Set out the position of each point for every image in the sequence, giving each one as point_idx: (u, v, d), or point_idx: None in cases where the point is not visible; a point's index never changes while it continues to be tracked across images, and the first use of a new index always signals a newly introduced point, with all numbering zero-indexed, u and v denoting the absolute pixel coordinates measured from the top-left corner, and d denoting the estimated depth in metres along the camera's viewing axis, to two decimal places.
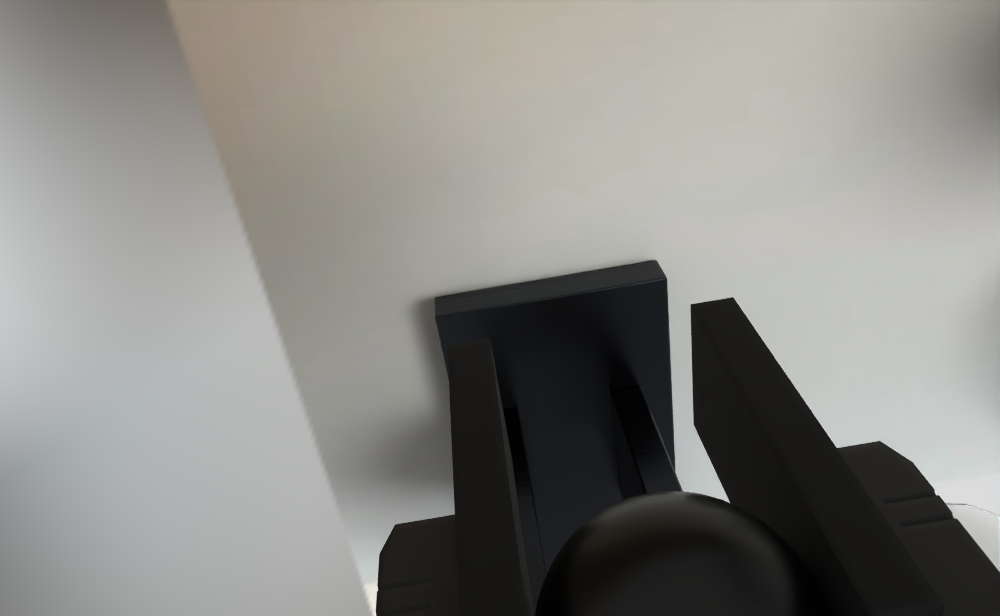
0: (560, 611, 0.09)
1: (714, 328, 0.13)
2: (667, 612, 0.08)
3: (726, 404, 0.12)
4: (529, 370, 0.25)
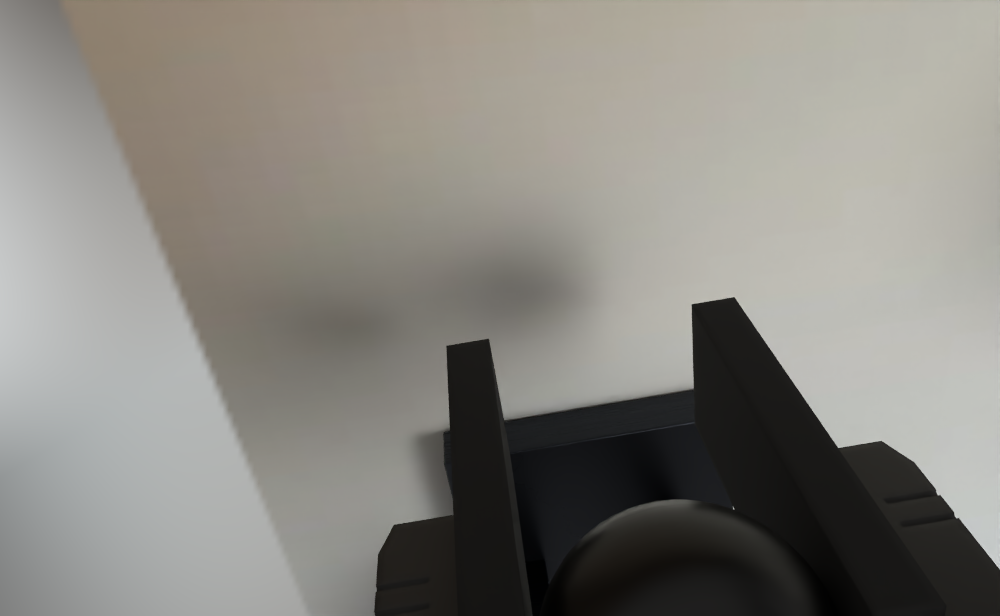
0: (556, 585, 0.09)
1: (715, 328, 0.13)
2: (652, 546, 0.09)
3: (727, 404, 0.12)
4: (559, 520, 0.20)
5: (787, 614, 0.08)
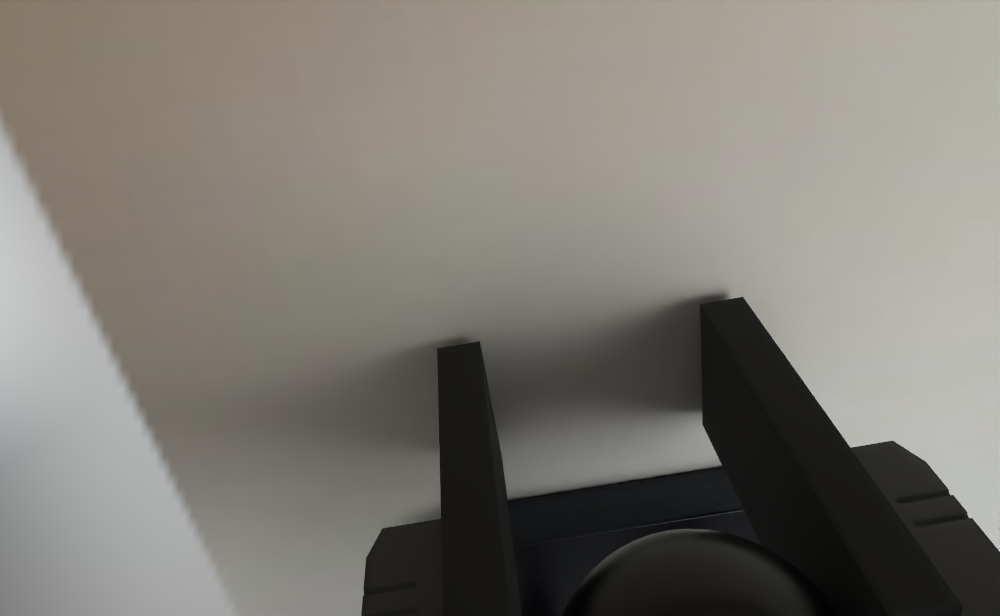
0: (567, 605, 0.10)
1: (724, 328, 0.13)
2: (655, 548, 0.09)
3: (737, 404, 0.12)
4: None
5: (785, 597, 0.08)
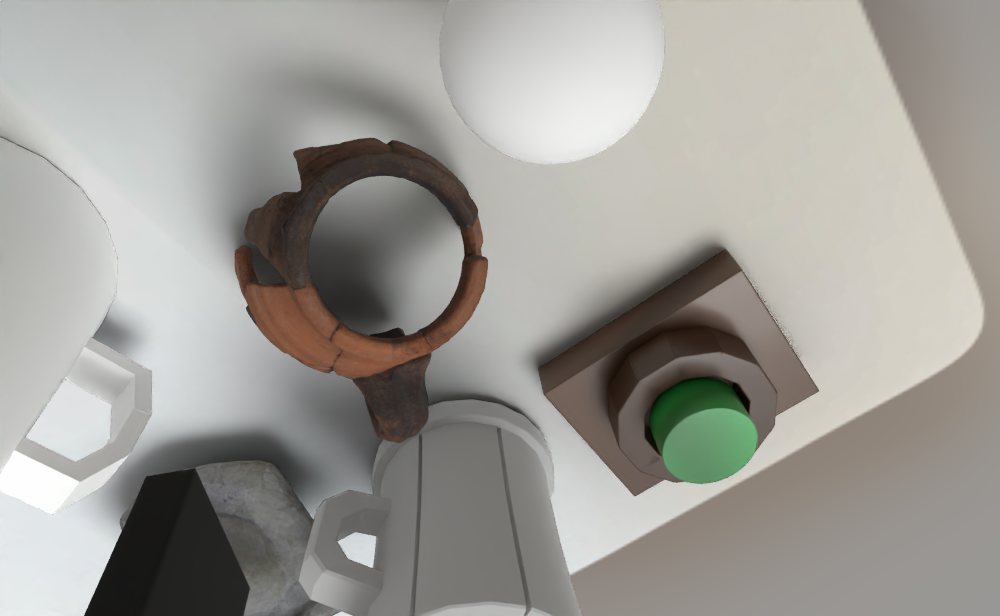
0: None
1: None
2: None
3: None
4: None
5: None
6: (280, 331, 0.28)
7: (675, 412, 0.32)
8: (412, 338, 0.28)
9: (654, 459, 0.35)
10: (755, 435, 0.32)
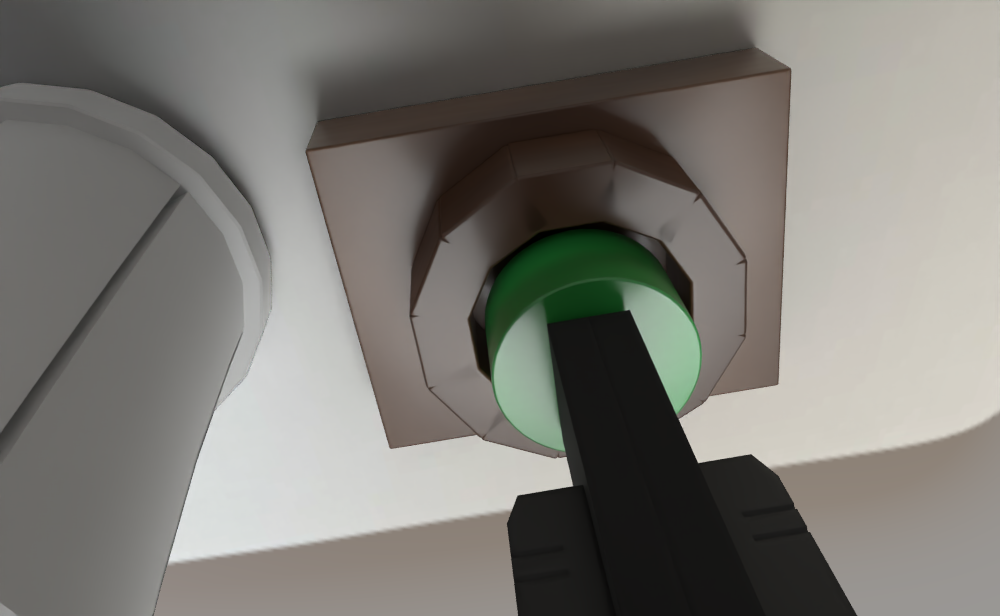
0: None
1: (605, 341, 0.13)
2: None
3: None
4: None
5: None
6: None
7: (563, 268, 0.14)
8: None
9: (466, 373, 0.17)
10: (691, 386, 0.15)
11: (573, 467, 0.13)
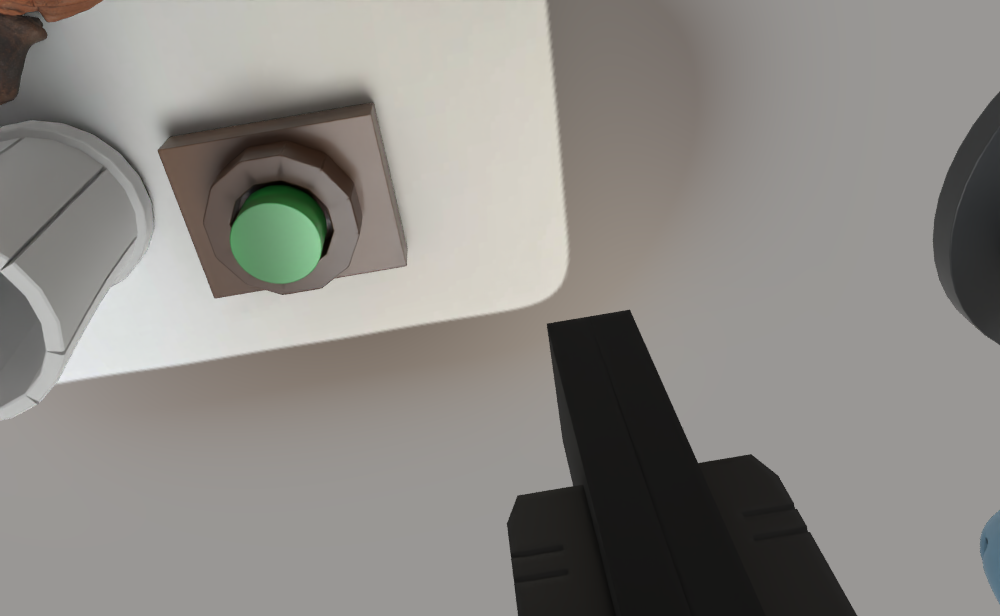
0: None
1: (605, 341, 0.13)
2: None
3: None
4: None
5: None
6: None
7: (257, 199, 0.35)
8: None
9: None
10: (319, 251, 0.35)
11: (573, 467, 0.13)
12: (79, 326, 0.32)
